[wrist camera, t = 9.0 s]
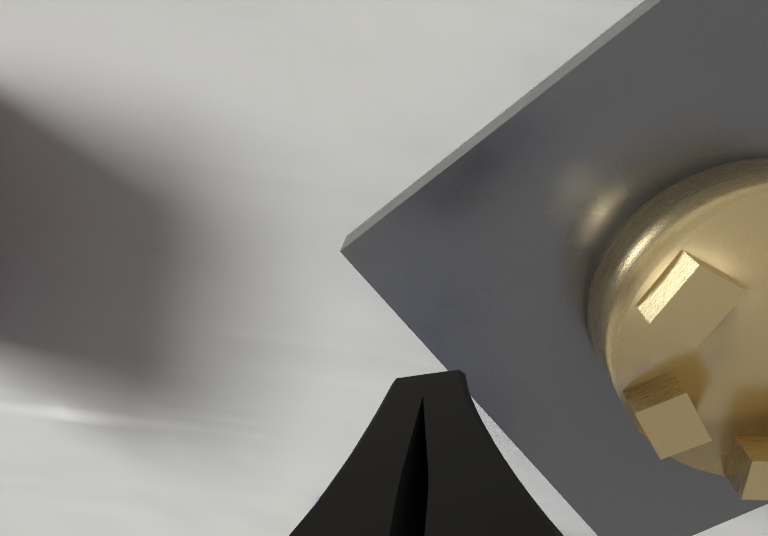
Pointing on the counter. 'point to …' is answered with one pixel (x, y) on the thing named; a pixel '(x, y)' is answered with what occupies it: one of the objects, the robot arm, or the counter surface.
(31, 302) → the counter surface
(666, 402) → the tan round handled piece
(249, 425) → the counter surface
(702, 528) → the plate
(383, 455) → the robot arm
